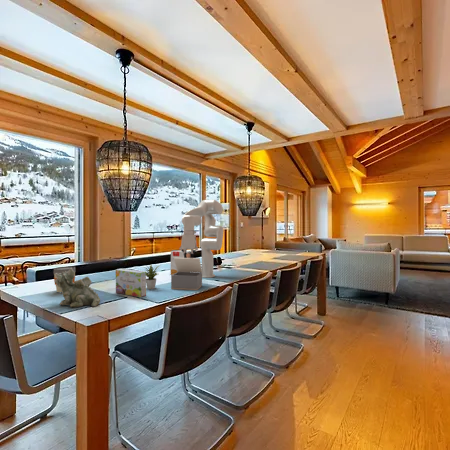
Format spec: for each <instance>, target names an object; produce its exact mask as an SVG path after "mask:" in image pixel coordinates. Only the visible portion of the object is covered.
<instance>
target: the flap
mask: <svg viewBox="0 0 450 450" xmlns="http://www.w3.org/2000/svg"><path fill="white" fill-rule="evenodd" d="M190 254H191V252H190V253H187V254H186V257H187V258H174V261H175V264H176V268H177V271H178V272H196V273H202V262H201V259H200V258H199V257H193V258H190Z"/></svg>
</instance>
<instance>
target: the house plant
mask: <svg viewBox="0 0 450 450" xmlns="http://www.w3.org/2000/svg"><path fill="white" fill-rule="evenodd" d="M160 266H162V265H156V266H155V267H154V266H153V265H152V264H151V265H149V267H148V266H147V265H146V267H144V266H143V268H144V269H145V271H146V290H147V289H148V290H153V289H155V288H156V283H157V278H156V276H158V275H159V272H157V271H158V269H159V267H160Z"/></svg>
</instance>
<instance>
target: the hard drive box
mask: <svg viewBox="0 0 450 450" xmlns="http://www.w3.org/2000/svg"><path fill="white" fill-rule="evenodd" d="M186 253H190V254H191V250H187V251H186ZM174 258H184V253H183V252H182V251H181V250H170V275H173V274H175V273H177V272H178V271H177V268H176V264H175V261H174Z"/></svg>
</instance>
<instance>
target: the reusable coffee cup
mask: <svg viewBox="0 0 450 450" xmlns="http://www.w3.org/2000/svg"><path fill="white" fill-rule="evenodd" d="M71 267H72V269H73V271H74V272H75V273H74V276H75V277H74V278H73V283H74V281H76V266H59V267H54V268H53V275H54V277H53V281H54V285H55V289H56V293H57V292H62V290H61V288H60V287H59V286H58V285H57V284H56V283H55V280H56V279H57V277H56V275H55V273H62V272H65V271H66V272H68V271H69V270H70V268H71Z"/></svg>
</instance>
